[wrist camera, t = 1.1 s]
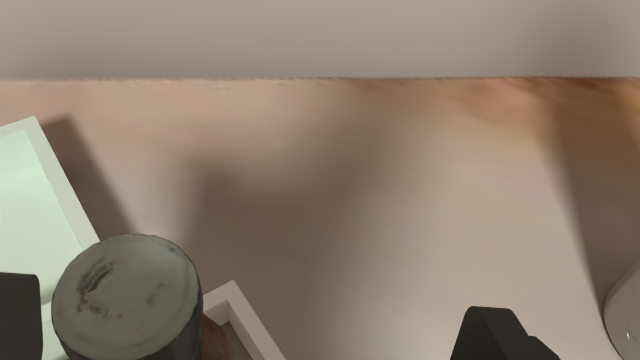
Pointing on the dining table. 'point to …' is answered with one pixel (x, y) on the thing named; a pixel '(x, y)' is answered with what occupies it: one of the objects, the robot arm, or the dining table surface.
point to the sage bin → (38, 217)
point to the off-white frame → (241, 320)
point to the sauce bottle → (134, 304)
